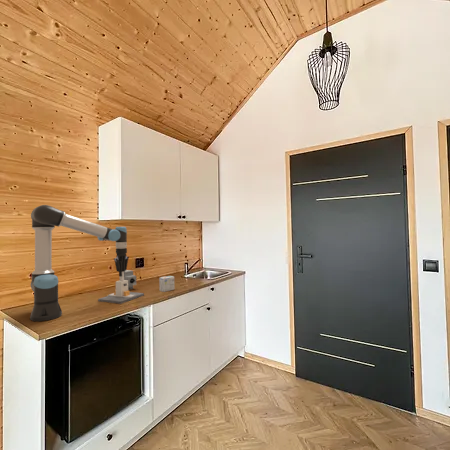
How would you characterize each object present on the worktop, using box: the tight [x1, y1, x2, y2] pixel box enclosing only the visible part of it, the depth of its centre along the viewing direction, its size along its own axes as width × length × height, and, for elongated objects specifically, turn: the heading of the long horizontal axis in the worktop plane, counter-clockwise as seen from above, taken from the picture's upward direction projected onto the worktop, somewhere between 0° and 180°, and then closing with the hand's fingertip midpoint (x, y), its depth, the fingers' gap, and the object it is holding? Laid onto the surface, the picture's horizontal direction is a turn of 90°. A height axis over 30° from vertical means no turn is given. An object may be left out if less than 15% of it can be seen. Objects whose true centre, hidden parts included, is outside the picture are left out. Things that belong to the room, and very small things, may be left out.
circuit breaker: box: [124, 269, 137, 291], centre depth 225 cm, size 8×14×15 cm, turn 53°
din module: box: [115, 280, 129, 296], centre depth 197 cm, size 7×6×10 cm
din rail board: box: [97, 289, 145, 305], centre depth 197 cm, size 24×20×5 cm
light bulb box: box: [158, 275, 175, 293], centre depth 221 cm, size 11×7×11 cm, turn 141°
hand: (121, 280), depth 197 cm, fingers closed
